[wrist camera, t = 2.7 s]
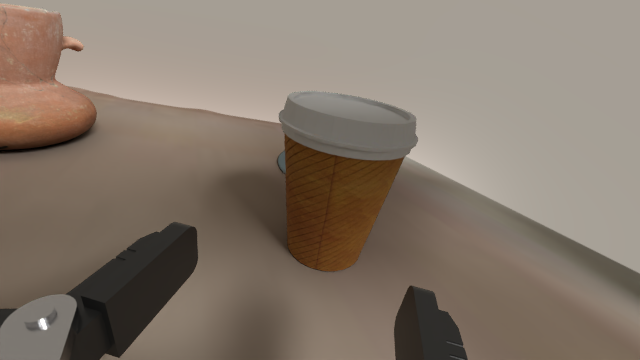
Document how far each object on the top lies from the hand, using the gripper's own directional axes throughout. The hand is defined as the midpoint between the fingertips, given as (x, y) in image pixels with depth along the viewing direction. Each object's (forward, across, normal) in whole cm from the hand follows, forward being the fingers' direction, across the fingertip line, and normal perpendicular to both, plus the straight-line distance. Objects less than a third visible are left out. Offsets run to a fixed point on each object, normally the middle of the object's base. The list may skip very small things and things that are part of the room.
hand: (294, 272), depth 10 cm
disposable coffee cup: (+11, 0, +8) cm, 14 cm away
